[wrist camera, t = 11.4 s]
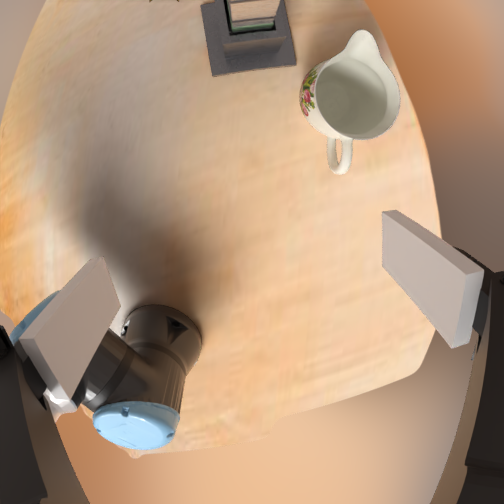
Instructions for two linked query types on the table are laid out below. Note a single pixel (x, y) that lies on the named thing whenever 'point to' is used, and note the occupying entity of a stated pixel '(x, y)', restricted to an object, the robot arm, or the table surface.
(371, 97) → the pitcher
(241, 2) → the column
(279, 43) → the stand
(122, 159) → the table surface
